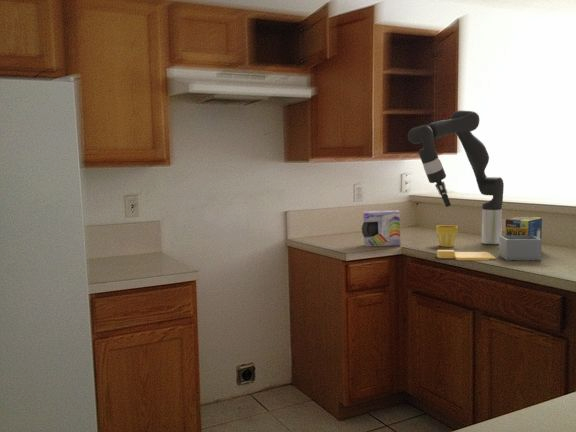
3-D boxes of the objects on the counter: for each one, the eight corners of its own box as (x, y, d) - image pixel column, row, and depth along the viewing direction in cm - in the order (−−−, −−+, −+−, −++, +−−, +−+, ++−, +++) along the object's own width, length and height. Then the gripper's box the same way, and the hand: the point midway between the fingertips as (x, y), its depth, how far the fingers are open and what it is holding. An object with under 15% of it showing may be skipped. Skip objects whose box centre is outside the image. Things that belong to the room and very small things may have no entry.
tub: (498, 255, 243) (499, 235, 242) (532, 255, 242) (532, 235, 241) (506, 261, 232) (506, 239, 231) (541, 260, 230) (541, 239, 229)
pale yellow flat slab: (435, 254, 251) (435, 247, 250) (487, 254, 248) (487, 247, 248) (440, 260, 237) (440, 253, 237) (495, 260, 234) (495, 253, 234)
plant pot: (457, 244, 277) (457, 224, 276) (458, 247, 267) (458, 227, 266) (436, 243, 280) (436, 224, 279) (435, 247, 270) (435, 227, 269)
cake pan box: (362, 246, 278) (361, 211, 276) (362, 244, 283) (361, 210, 281) (400, 246, 275) (400, 211, 273) (400, 244, 280) (400, 210, 278)
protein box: (504, 253, 250) (505, 219, 248) (519, 248, 260) (519, 216, 259) (527, 255, 242) (528, 220, 241) (541, 250, 253) (542, 217, 251)
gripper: (444, 169, 230) (457, 204, 233) (441, 163, 243) (453, 196, 246) (426, 176, 232) (440, 211, 235) (424, 169, 245) (437, 202, 248)
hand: (447, 203), depth 240 cm, fingers open, 8 cm apart
